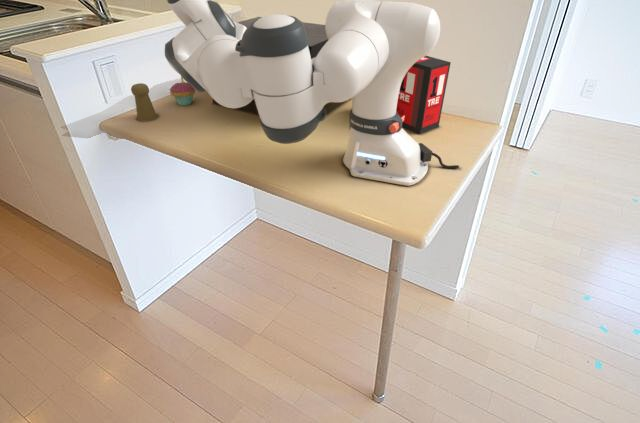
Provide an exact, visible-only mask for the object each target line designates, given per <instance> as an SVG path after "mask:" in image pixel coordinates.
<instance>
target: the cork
mask: <svg viewBox="0 0 640 423" xmlns="http://www.w3.org/2000/svg"><path fill="white" fill-rule="evenodd" d="M130 91H131V94H132V96H134V102H135V110H136V116H137V117H136V118H137V120H138V121H140V122H149V121H152V120H155V119H157V117H158V115H157V113H156V110H155V108H154V105H153V103H152V100H151V97H150V95H149V93H150V88H149V86H148V85H147V84H146V83H142V82H141V83H140V82H139V83H135V84H132V86H131V88H130Z"/></svg>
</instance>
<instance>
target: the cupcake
mask: <svg viewBox="0 0 640 423" xmlns="http://www.w3.org/2000/svg"><path fill="white" fill-rule="evenodd" d="M180 79H181V82H176V83H174V84H173V85H172V86H171V87H170V89H169V93H170V96H171V97H173V98H174V99H175V100H176V102H177V104H178V105H179V106H188V105H191V104H192V102H193V96H194V95H195V94H196V90H195V89H194V88H193V87H192V86H191V85H190V84H189V83H188V82H187V81H185V80H184V79H183V77H182V76H181V75H180Z"/></svg>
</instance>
